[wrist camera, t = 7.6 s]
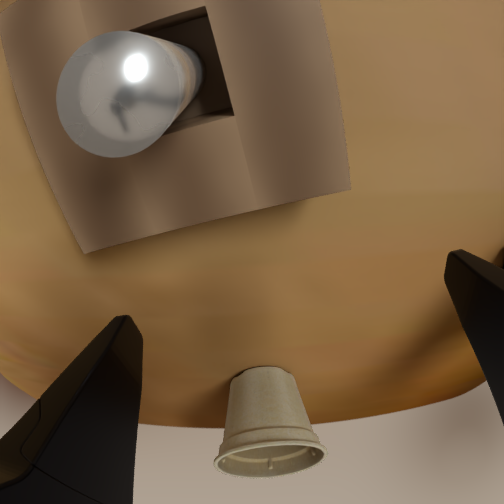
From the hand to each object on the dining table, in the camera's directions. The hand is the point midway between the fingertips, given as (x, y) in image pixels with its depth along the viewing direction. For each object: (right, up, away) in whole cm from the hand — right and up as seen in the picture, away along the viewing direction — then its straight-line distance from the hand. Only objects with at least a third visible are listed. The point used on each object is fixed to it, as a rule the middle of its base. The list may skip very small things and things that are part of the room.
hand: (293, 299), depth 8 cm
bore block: (-5, +11, +6) cm, 13 cm away
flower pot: (0, -11, +22) cm, 24 cm away
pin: (-5, +10, +6) cm, 12 cm away
